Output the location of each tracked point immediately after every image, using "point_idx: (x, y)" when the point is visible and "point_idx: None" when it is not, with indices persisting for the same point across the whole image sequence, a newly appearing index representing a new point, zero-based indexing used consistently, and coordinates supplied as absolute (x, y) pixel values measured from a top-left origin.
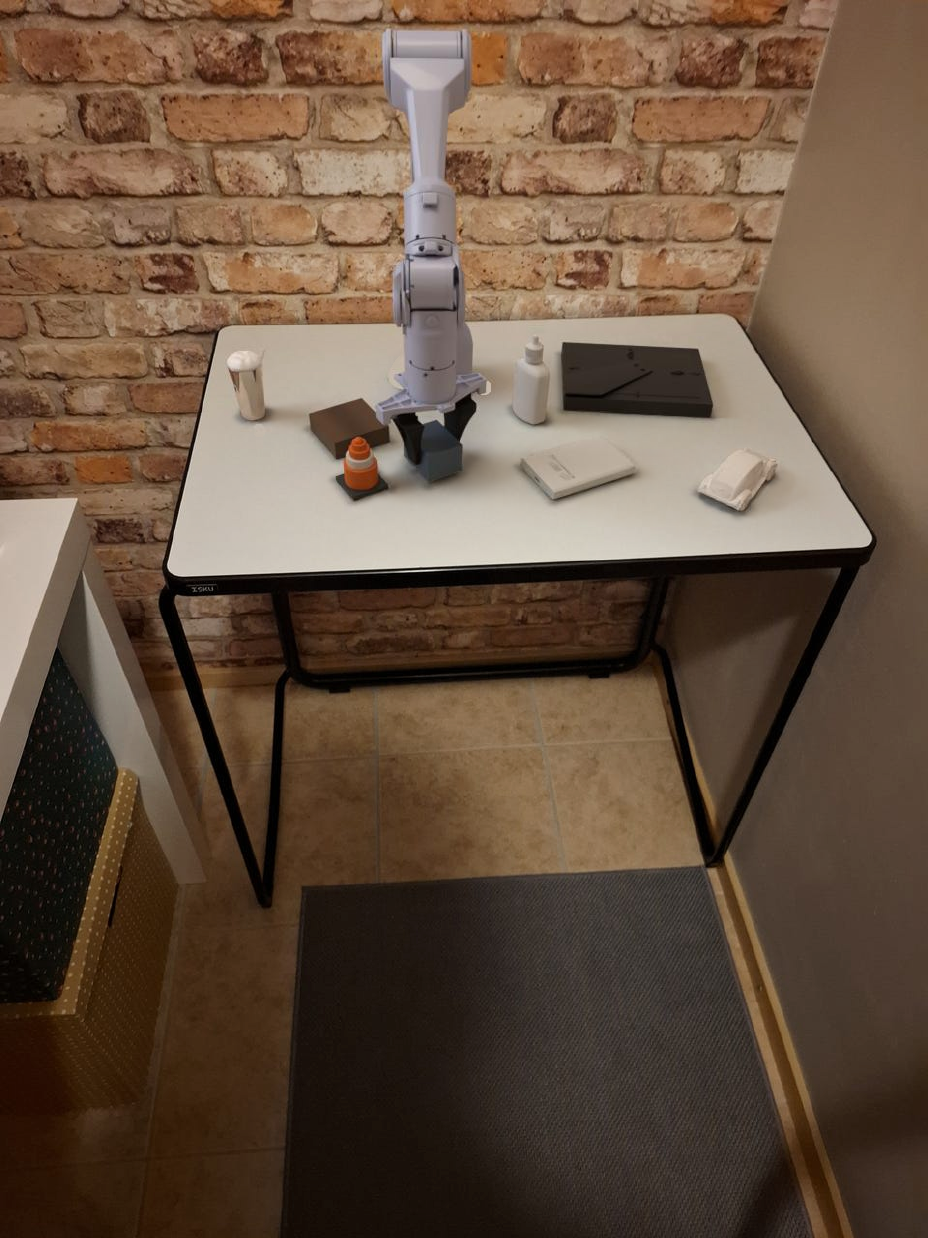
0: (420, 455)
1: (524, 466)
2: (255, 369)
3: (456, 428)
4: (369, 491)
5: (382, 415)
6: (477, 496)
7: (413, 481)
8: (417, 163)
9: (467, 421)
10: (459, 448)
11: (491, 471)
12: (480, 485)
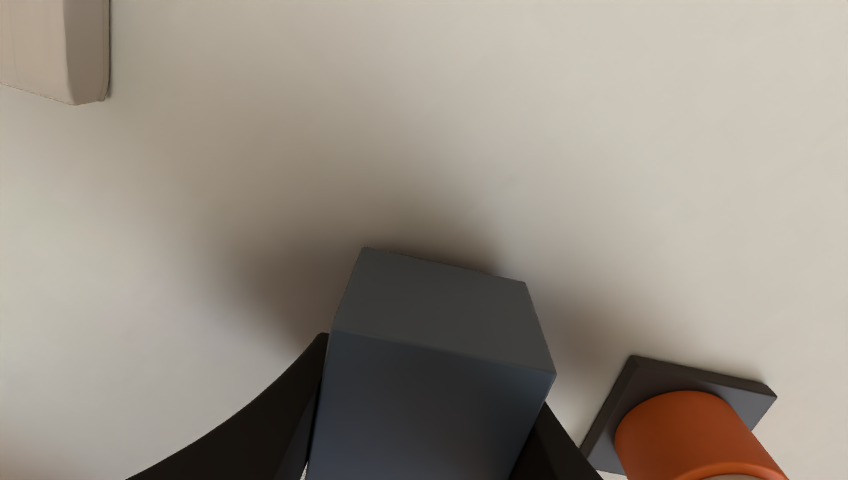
0: None
1: (93, 64)
2: None
3: (297, 434)
4: (715, 382)
5: None
6: (422, 79)
7: None
8: None
9: (211, 442)
10: (358, 318)
11: (248, 167)
12: (354, 130)
